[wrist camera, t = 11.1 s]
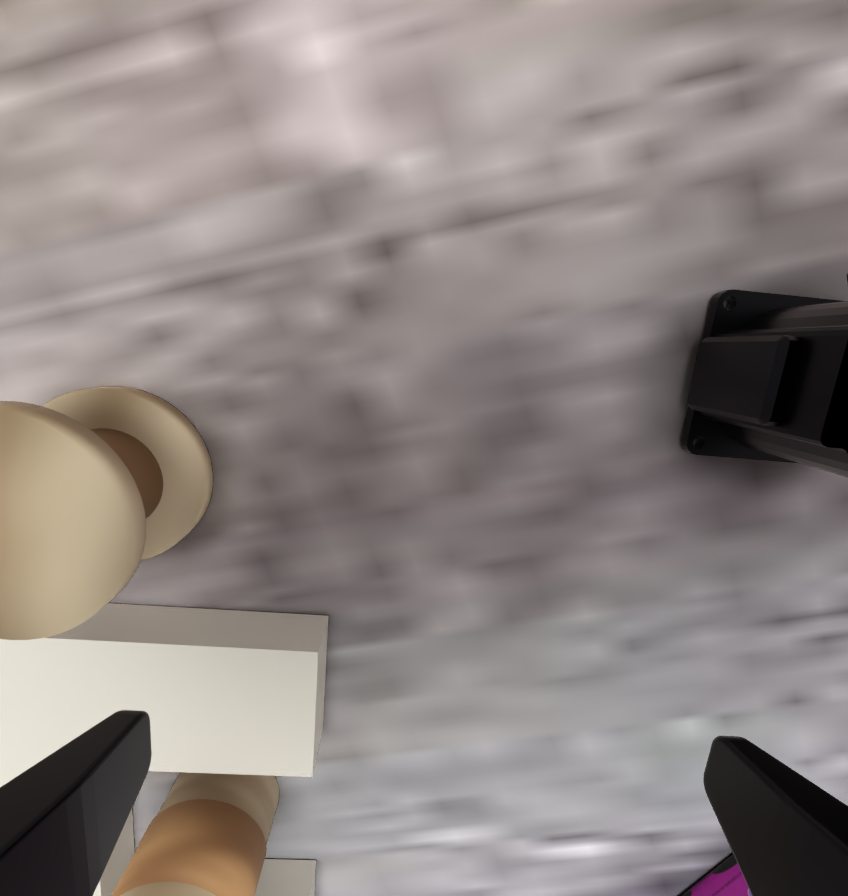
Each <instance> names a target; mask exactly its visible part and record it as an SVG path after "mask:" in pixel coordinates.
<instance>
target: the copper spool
mask: <svg viewBox="0 0 848 896" xmlns="http://www.w3.org/2000/svg"><path fill="white" fill-rule="evenodd" d="M278 802H279V786H278V783H277V780H276V778H275V776H269V775H242V774H214V773H187V772H180V773H179V775H178V777H177V779H176V781H175V783H174V785H173V786H172V788H171V790H170V792H169V794H168V796H167V798H166V800H165V802H164V803H163V805H162V807H161V809H160V811H159V813H158V815H157V816H156V817H155V818H154V819H153V820H152V822H151V823H150V825H149V827H148V828H147V830H146V832H145V834H144V836H143V838H142V840H141V841H140V843H139V845H138V847H137V849H136V851H135V853H134V854H133V856H132V858H131V860H130V862H129V864H128V866H127V867H126V869H125V871H124V873H123V875H122V877H121V879H120V880H119V882H118V884H117V886H116V888H115V890H114V892H113V893H112V895H111V896H255V892H256V889H257V885H258V881H259V878H260V874H261V871H262V867H263V863H264V860H265V856H266V844H267V841H268V837H269V834H270V830H271V826H272V823H273V819H274V816H275V812H276V809H277V805H278Z"/></svg>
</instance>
